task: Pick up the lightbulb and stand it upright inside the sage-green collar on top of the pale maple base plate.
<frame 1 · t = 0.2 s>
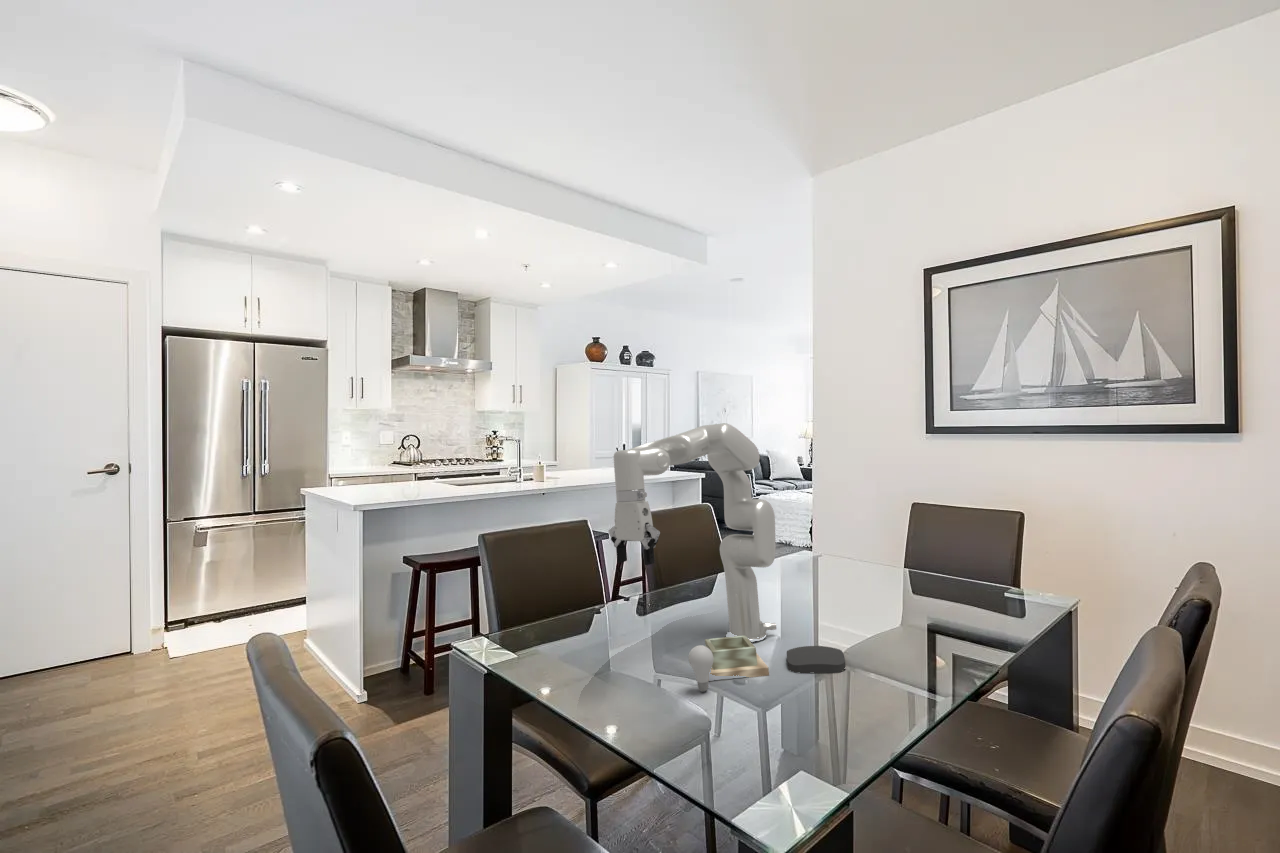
hand: (635, 563, 161), 31 cm above the table, tool pointing down, fingers open, 9 cm apart
lightbulb: (703, 692, 151), on the table
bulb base: (731, 668, 165), on the table
media streaming box: (815, 665, 164), on the table
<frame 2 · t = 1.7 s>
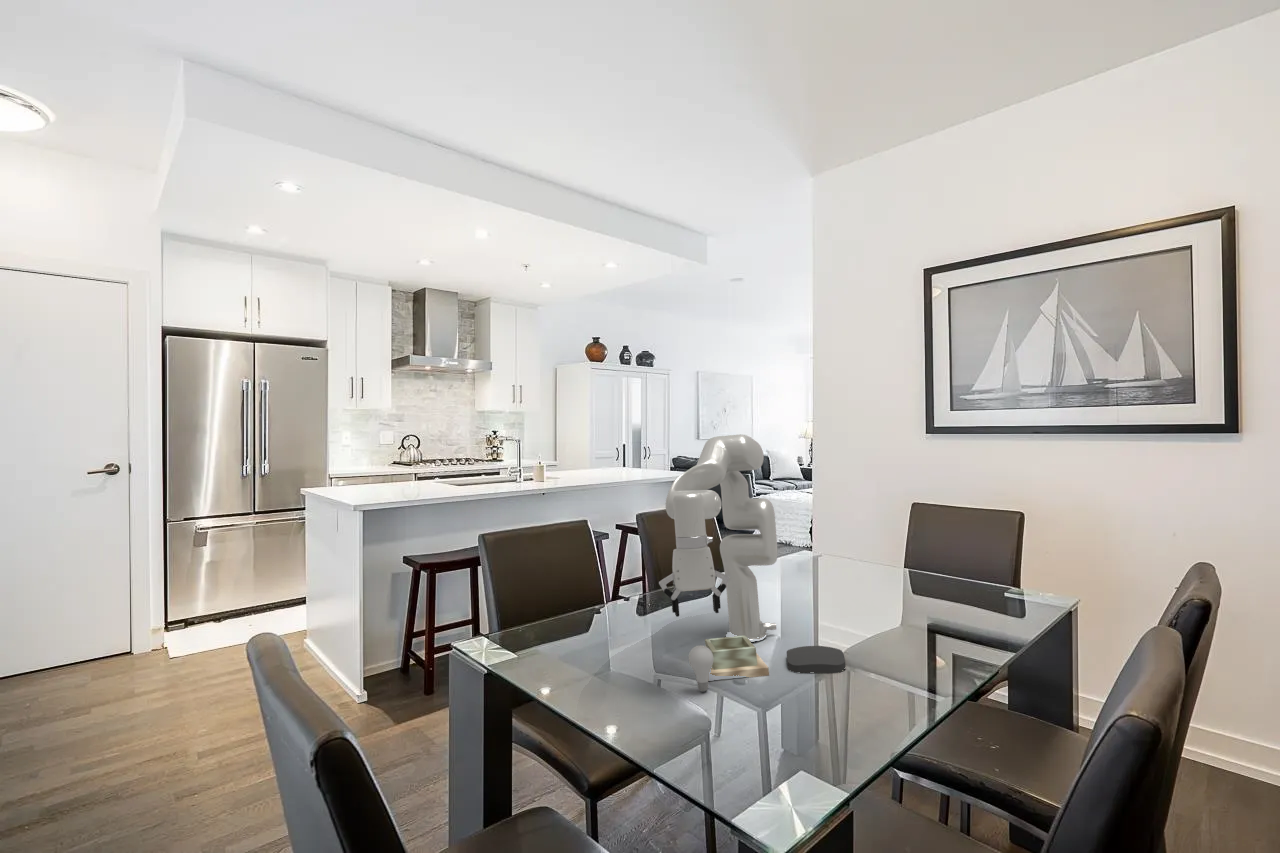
hand: (696, 613, 151), 19 cm above the table, tool pointing down, fingers open, 9 cm apart
nothing on the table moved.
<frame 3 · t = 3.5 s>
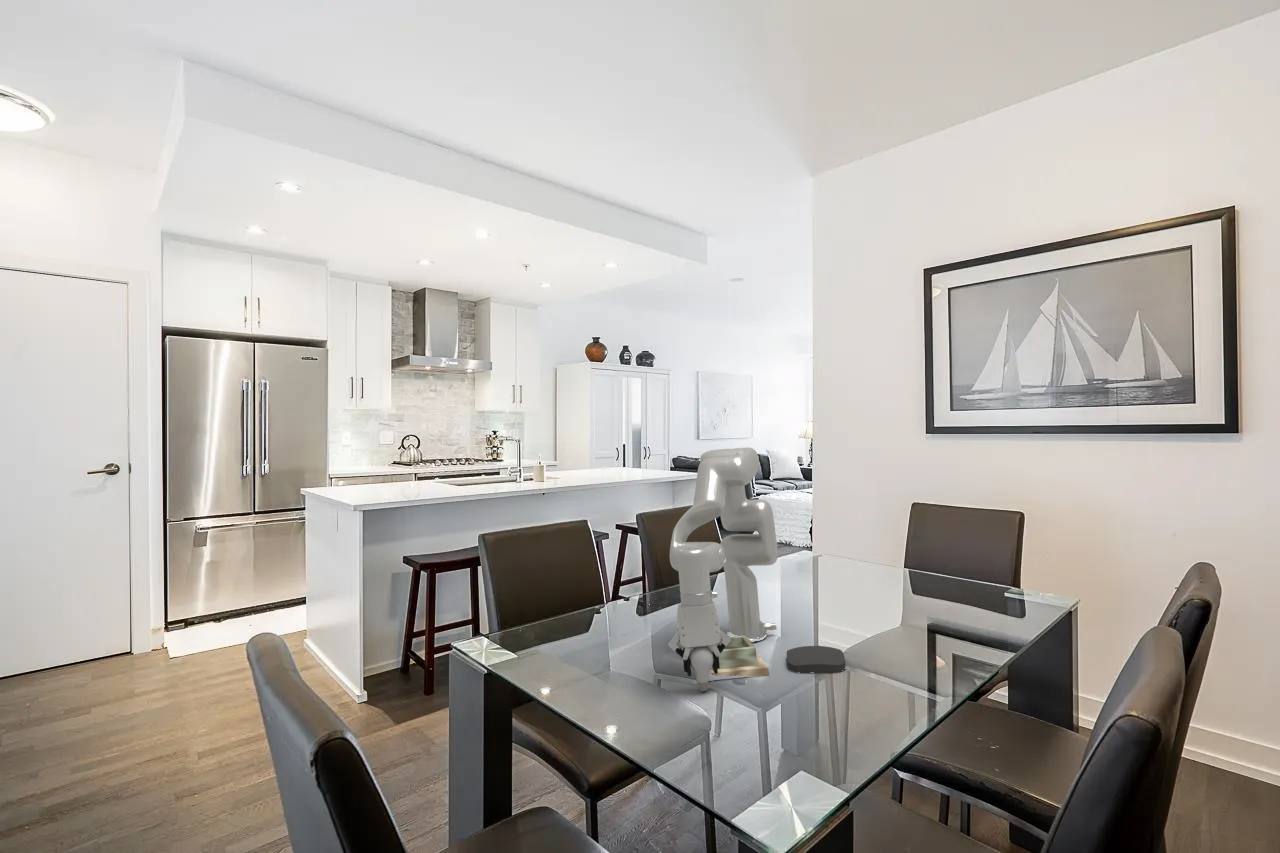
hand: (702, 672, 151), 5 cm above the table, tool pointing down, fingers closed on lightbulb, 5 cm apart
lightbulb: (703, 692, 151), on the table, touching gripper
everything else where it was.
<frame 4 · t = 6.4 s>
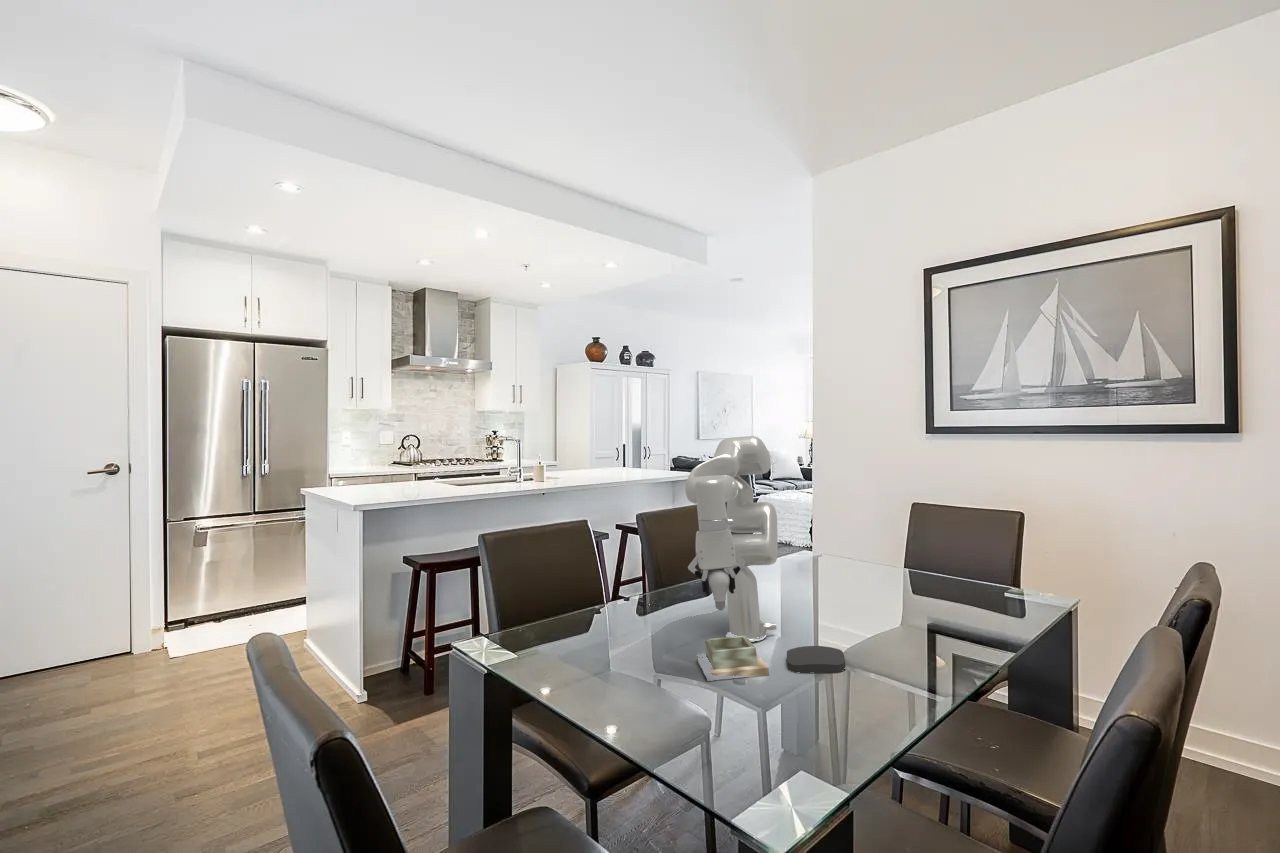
hand: (719, 592, 164), 21 cm above the table, tool pointing down, fingers closed on lightbulb, 5 cm apart
lightbulb: (720, 610, 163), point 16 cm above the table, touching gripper
everything else where it was.
when the fingers open (7 cm above the table, at t = 9.3 s): lightbulb stays where it is, resting on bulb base.
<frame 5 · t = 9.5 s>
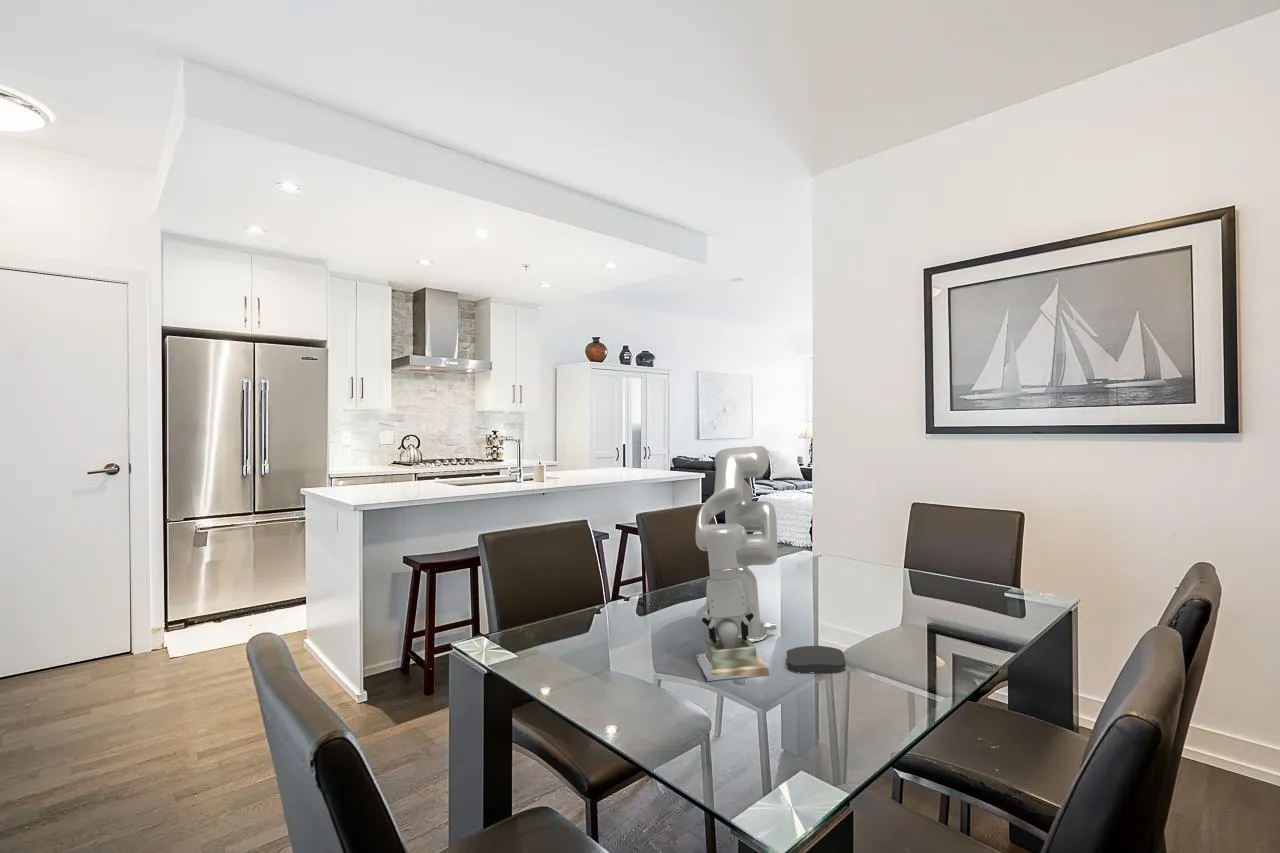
hand: (729, 640, 166), 7 cm above the table, tool pointing down, fingers open, 7 cm apart
lightbulb: (730, 660, 166), point 2 cm above the table, touching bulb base
everything else where it was.
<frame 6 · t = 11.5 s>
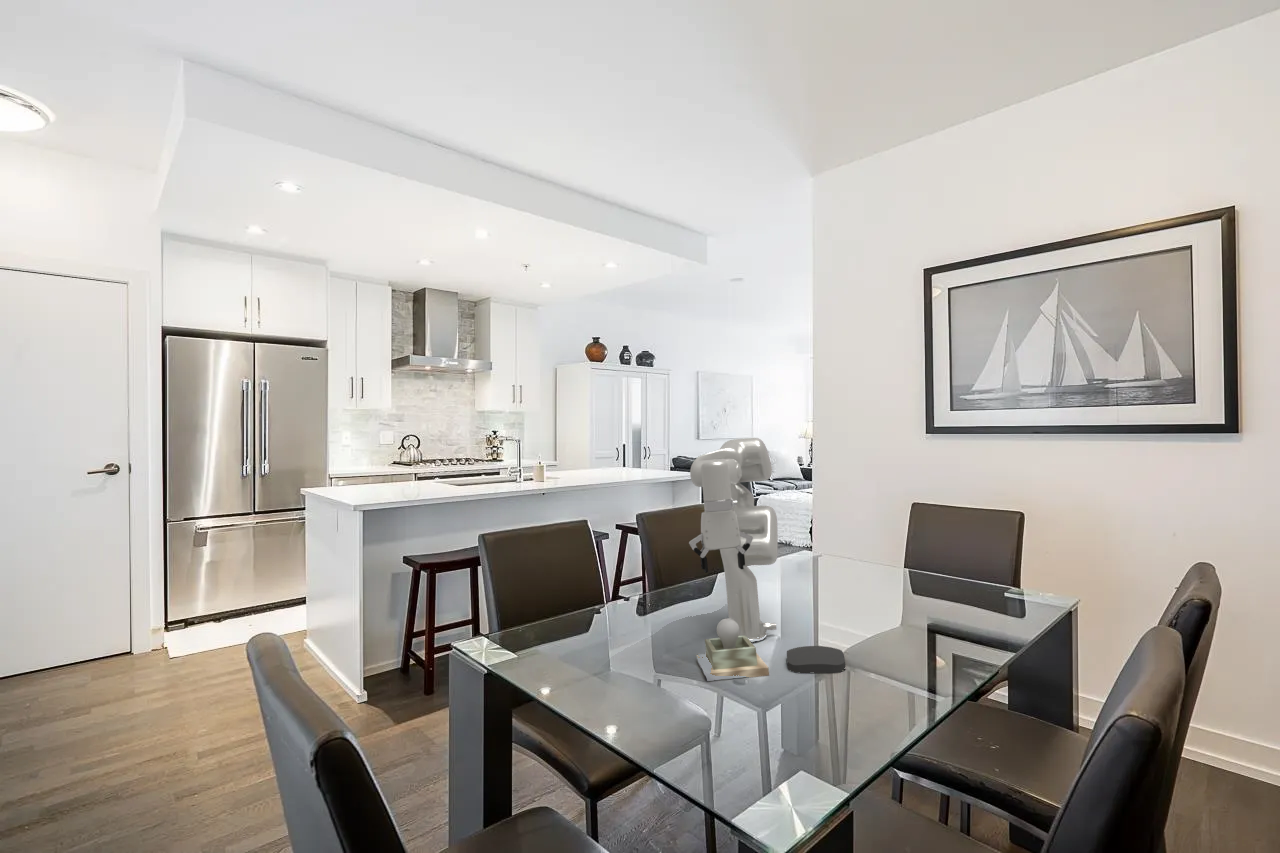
hand: (723, 570, 167), 26 cm above the table, tool pointing down, fingers open, 9 cm apart
nothing on the table moved.
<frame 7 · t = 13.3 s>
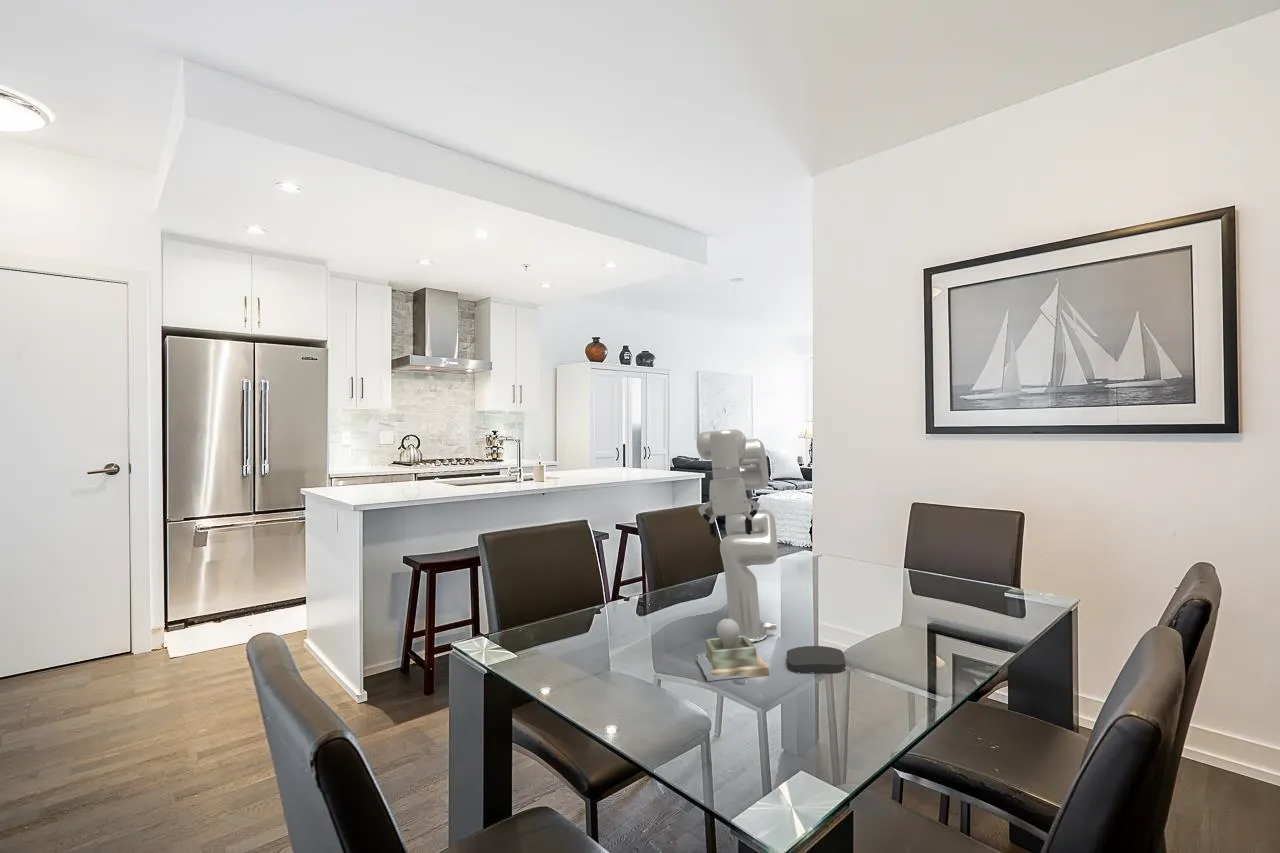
hand: (731, 535, 172), 34 cm above the table, tool pointing down, fingers open, 9 cm apart
nothing on the table moved.
at the end: lightbulb 0.2 cm off-centre on the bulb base, point 1.8 cm above the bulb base's base; lightbulb tilted 0°; the gripper is holding nothing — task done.
